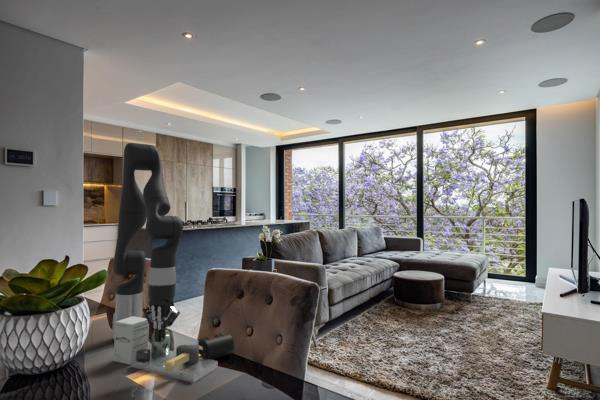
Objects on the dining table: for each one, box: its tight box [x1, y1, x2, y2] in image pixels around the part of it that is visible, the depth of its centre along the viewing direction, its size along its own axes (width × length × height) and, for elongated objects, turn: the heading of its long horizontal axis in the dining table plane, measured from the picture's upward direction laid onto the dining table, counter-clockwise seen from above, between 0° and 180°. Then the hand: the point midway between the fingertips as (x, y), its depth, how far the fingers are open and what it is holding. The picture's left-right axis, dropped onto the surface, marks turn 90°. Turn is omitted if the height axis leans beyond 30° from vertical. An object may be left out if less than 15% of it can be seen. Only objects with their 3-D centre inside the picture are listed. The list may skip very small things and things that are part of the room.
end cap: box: [197, 333, 235, 360], centre depth 112 cm, size 10×7×7 cm
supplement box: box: [113, 316, 150, 366], centre depth 110 cm, size 7×7×13 cm
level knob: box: [165, 344, 200, 371], centre depth 100 cm, size 12×4×4 cm, turn 157°
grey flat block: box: [130, 329, 219, 384], centre depth 105 cm, size 24×12×9 cm, turn 67°
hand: (159, 341), depth 100 cm, fingers closed
